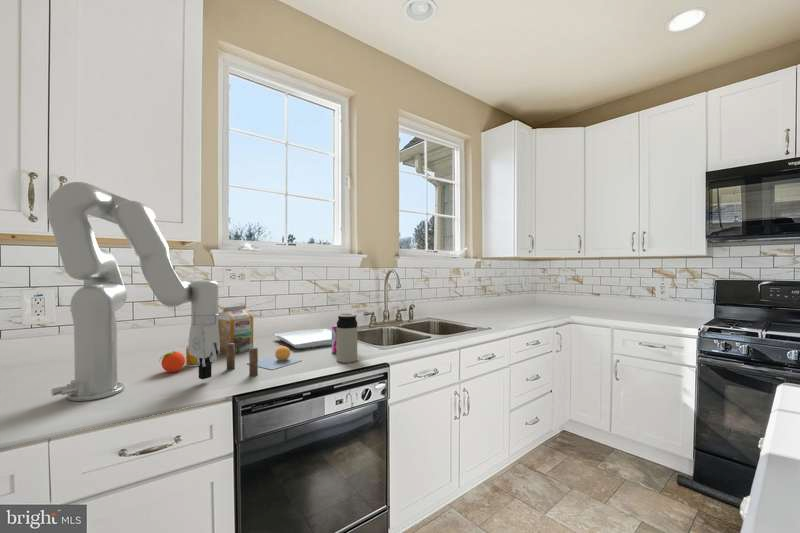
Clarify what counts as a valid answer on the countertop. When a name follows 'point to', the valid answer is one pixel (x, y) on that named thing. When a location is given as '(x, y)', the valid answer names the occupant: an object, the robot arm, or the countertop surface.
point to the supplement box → (334, 339)
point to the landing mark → (275, 363)
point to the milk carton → (235, 328)
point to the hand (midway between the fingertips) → (205, 377)
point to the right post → (253, 361)
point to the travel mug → (346, 337)
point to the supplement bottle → (190, 358)
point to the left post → (230, 356)
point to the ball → (282, 353)
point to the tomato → (172, 361)
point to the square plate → (307, 338)
